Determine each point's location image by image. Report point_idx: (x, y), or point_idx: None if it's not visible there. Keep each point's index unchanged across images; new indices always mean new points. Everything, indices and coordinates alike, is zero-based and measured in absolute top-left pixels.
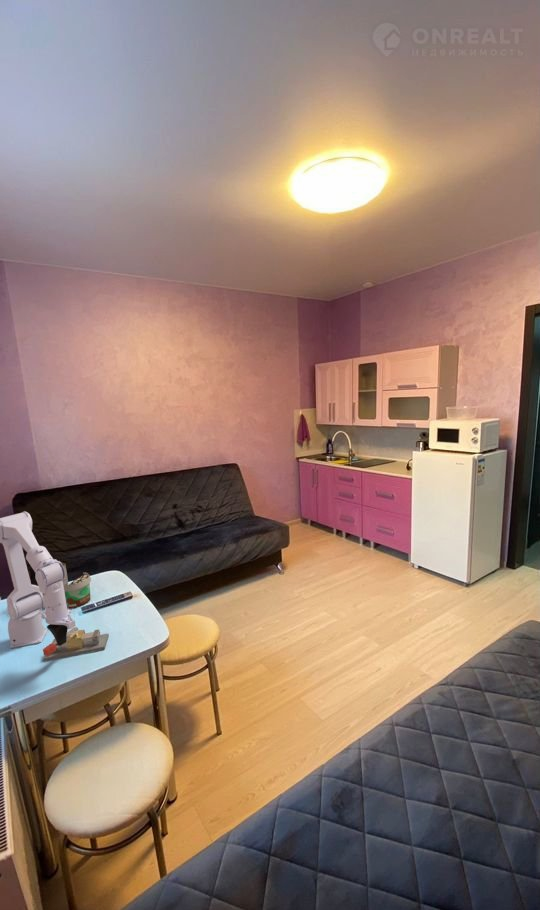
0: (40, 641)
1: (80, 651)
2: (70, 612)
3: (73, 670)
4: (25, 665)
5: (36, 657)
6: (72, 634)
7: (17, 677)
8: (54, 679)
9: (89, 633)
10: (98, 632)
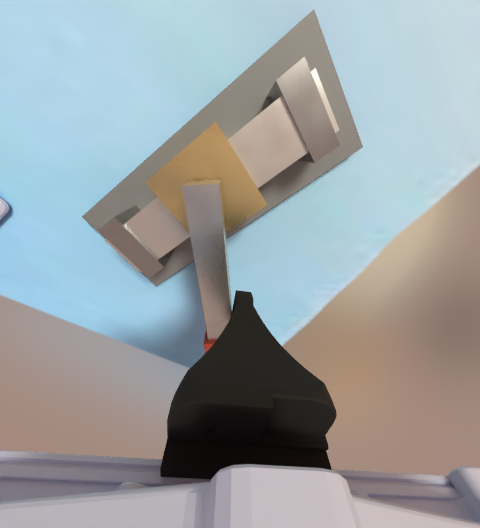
0: (5, 208)
1: (265, 211)
2: (344, 498)
3: (304, 279)
4: (124, 307)
5: (112, 273)
6: (224, 233)
7: (161, 340)
8: (274, 318)
9: (262, 126)
10: (318, 91)
